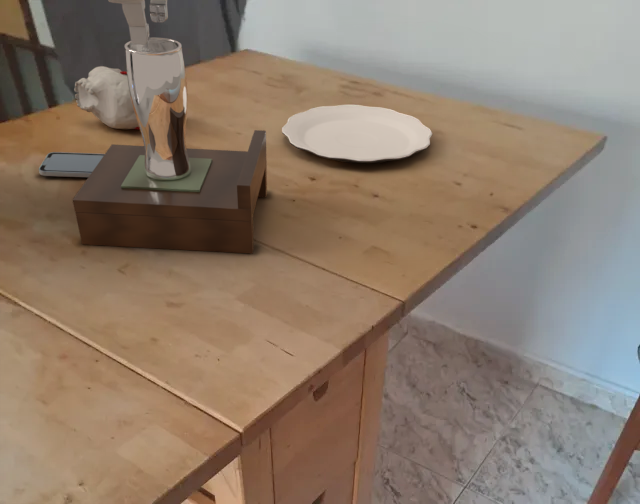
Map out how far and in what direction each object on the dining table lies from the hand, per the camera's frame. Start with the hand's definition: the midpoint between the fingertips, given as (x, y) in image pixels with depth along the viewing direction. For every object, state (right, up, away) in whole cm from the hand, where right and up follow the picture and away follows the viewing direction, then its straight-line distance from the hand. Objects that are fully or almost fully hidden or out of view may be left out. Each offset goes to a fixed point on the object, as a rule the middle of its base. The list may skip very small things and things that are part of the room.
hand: (150, 31), depth 79 cm
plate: (+26, +3, +38) cm, 46 cm away
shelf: (0, -17, +15) cm, 23 cm away
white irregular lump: (-13, +7, +40) cm, 42 cm away
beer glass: (-1, -12, +11) cm, 17 cm away
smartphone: (-15, -6, +26) cm, 31 cm away
